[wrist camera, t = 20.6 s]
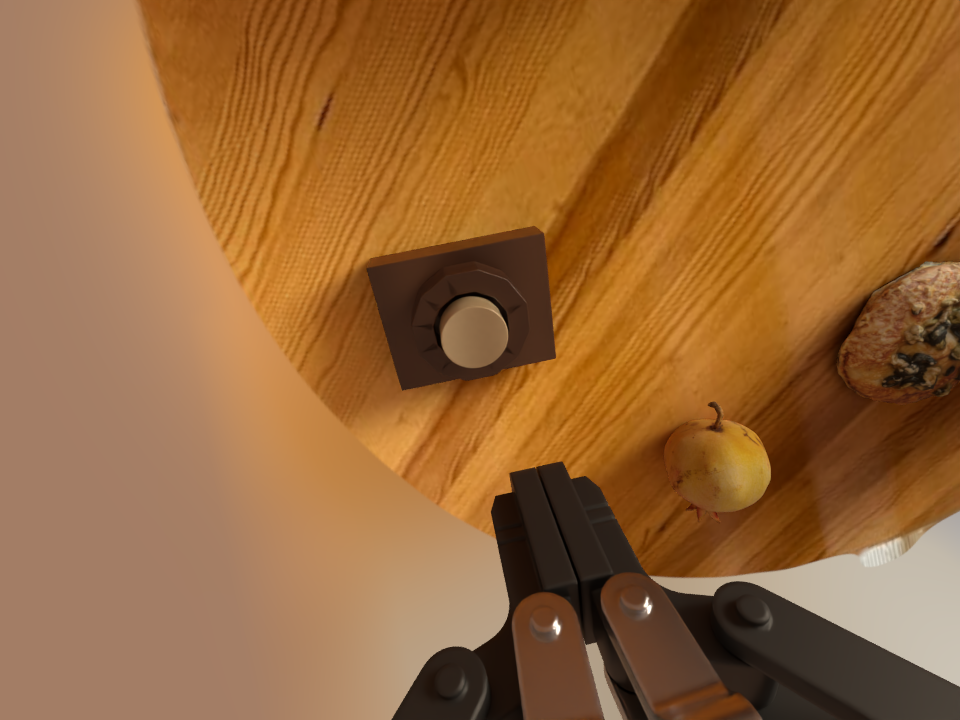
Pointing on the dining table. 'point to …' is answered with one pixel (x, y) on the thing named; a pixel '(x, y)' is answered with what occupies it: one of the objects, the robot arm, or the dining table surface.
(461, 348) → the power button
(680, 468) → the fruit
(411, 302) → the block
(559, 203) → the dining table surface
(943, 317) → the bread roll
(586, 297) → the dining table surface
